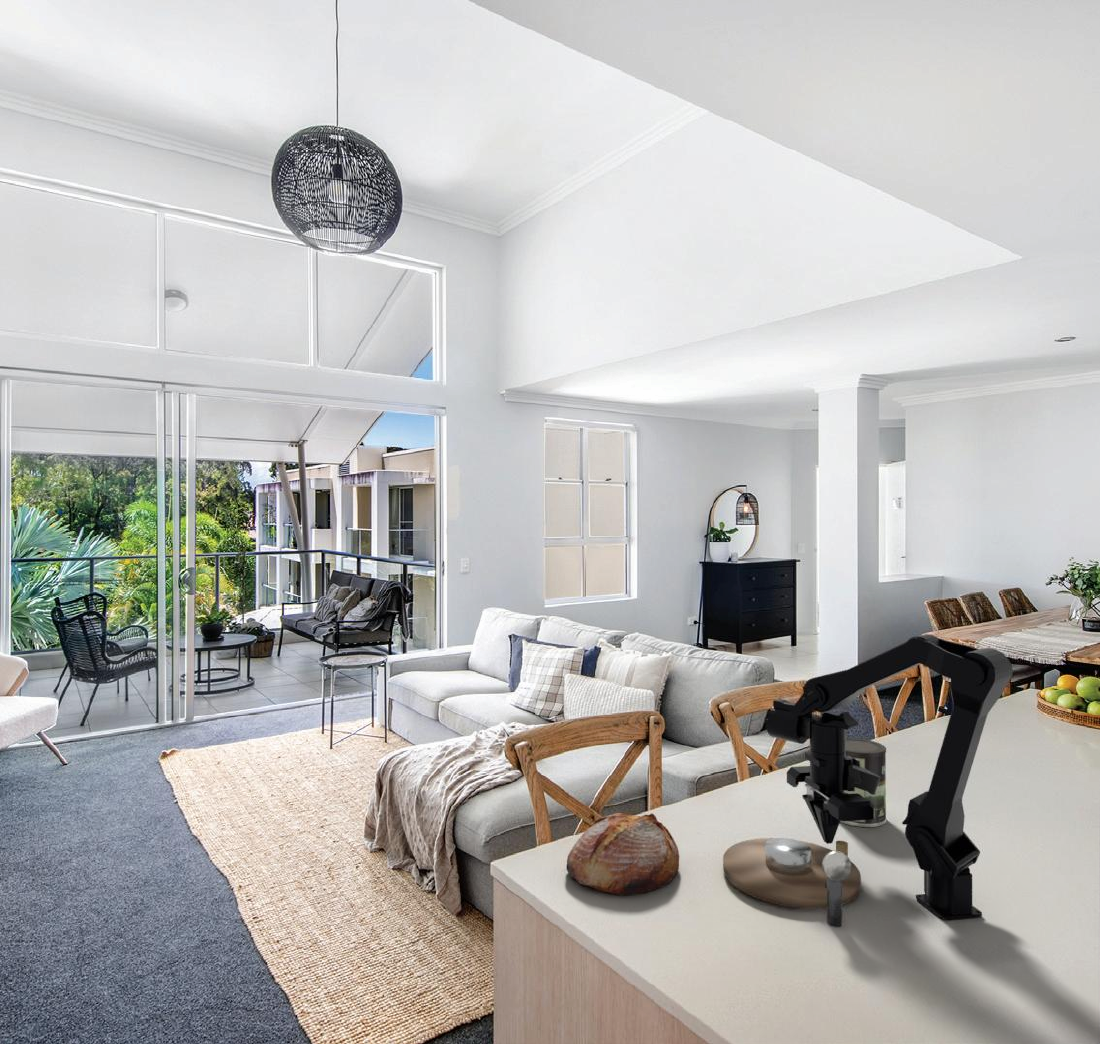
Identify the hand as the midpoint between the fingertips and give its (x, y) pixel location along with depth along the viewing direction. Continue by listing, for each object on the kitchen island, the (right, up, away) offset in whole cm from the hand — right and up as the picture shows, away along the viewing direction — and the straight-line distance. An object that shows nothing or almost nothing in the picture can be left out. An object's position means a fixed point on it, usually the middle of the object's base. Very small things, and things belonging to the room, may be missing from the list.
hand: (828, 842), depth 125 cm
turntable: (-8, -3, -6) cm, 11 cm away
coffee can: (+13, -4, +20) cm, 24 cm away
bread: (-35, -4, -3) cm, 35 cm away
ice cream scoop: (-6, -3, -19) cm, 20 cm away
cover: (-9, -1, -6) cm, 11 cm away
